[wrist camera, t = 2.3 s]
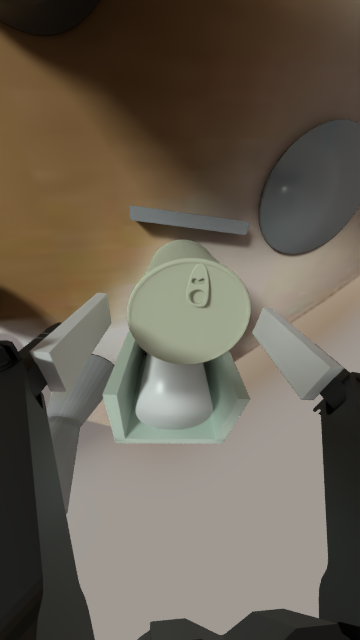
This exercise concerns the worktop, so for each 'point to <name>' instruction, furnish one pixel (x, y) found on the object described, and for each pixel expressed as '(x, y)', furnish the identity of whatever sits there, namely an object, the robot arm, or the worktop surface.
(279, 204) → the coaster
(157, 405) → the dispenser
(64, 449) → the lamp
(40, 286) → the worktop surface
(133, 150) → the worktop surface
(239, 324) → the can
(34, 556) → the robot arm
